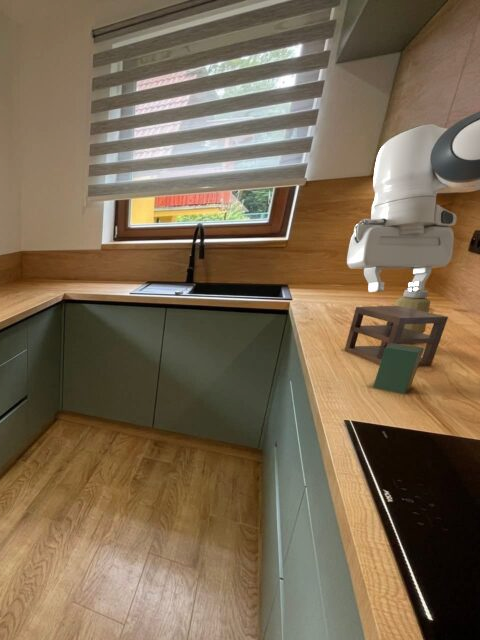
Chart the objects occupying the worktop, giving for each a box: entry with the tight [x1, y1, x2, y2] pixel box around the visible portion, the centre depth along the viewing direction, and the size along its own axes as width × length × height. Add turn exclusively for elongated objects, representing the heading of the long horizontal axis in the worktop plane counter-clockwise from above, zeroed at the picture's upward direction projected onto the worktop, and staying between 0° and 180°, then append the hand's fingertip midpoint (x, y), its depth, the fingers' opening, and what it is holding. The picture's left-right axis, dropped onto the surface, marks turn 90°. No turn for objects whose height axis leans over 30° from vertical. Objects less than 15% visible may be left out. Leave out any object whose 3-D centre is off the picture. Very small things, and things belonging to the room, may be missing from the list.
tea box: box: [372, 343, 425, 395], centre depth 90 cm, size 5×5×9 cm
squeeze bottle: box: [385, 289, 431, 334], centre depth 119 cm, size 8×8×18 cm
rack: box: [344, 305, 449, 367], centre depth 107 cm, size 10×14×12 cm
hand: (396, 291), depth 84 cm, fingers open, 8 cm apart
